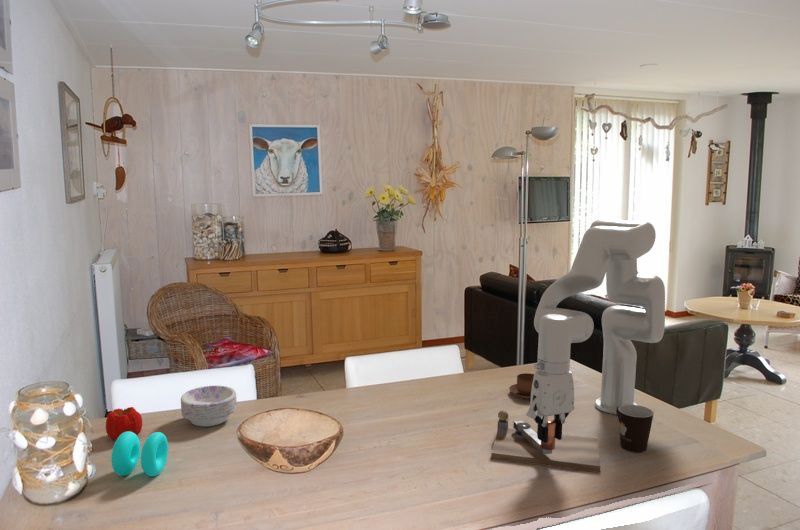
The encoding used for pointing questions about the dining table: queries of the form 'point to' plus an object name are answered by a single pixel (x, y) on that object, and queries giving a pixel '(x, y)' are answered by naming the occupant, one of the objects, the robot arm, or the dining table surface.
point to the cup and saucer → (523, 386)
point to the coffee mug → (634, 427)
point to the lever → (532, 435)
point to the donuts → (129, 453)
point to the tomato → (123, 422)
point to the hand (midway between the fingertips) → (549, 438)
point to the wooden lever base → (566, 454)
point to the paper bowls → (208, 405)
